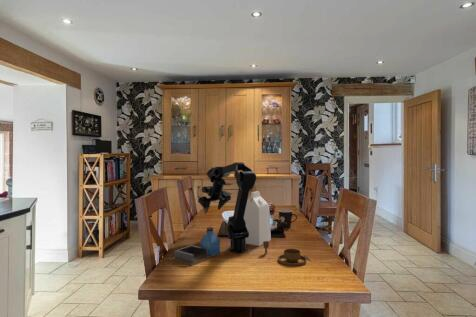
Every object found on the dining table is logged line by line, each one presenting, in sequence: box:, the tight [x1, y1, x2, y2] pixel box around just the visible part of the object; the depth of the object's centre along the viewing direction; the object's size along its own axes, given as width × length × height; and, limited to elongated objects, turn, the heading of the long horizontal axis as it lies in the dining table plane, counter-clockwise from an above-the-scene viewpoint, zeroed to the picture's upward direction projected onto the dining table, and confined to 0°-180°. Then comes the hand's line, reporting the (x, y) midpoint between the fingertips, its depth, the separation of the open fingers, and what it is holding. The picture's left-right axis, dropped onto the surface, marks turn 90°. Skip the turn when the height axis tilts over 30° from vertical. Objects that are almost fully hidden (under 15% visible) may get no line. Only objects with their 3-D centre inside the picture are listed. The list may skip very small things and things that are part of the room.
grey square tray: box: [171, 244, 212, 267], centre depth 135 cm, size 12×12×4 cm
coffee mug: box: [278, 209, 298, 229], centre depth 192 cm, size 12×9×10 cm
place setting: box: [262, 241, 312, 267], centre depth 135 cm, size 18×20×6 cm
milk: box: [240, 190, 272, 247], centre depth 161 cm, size 12×12×26 cm
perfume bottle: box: [200, 226, 221, 258], centre depth 141 cm, size 6×6×12 cm
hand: (212, 211), depth 171 cm, fingers open, 9 cm apart
